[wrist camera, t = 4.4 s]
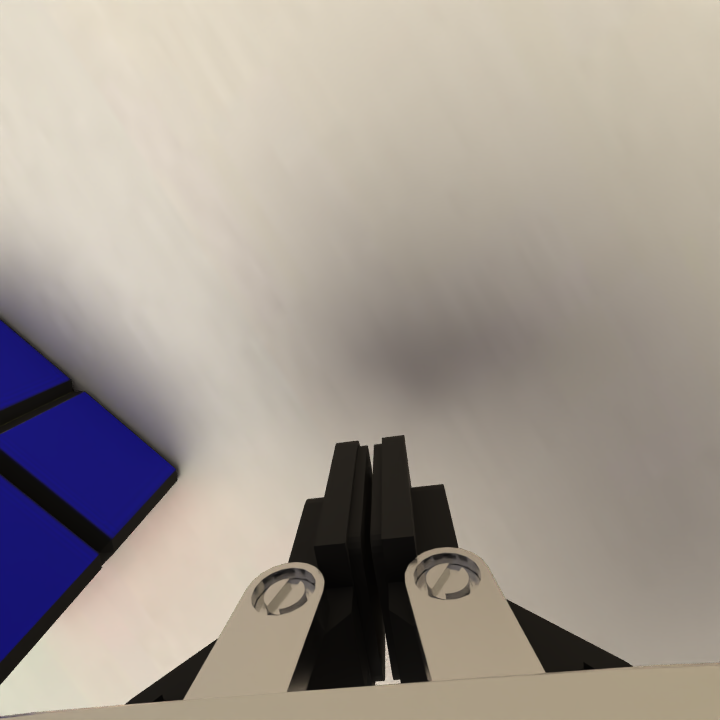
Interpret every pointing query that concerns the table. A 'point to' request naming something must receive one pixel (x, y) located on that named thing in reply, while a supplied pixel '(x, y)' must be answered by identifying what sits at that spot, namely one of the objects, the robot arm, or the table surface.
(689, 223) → the table surface
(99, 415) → the puzzle cube
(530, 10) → the table surface
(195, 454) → the table surface
